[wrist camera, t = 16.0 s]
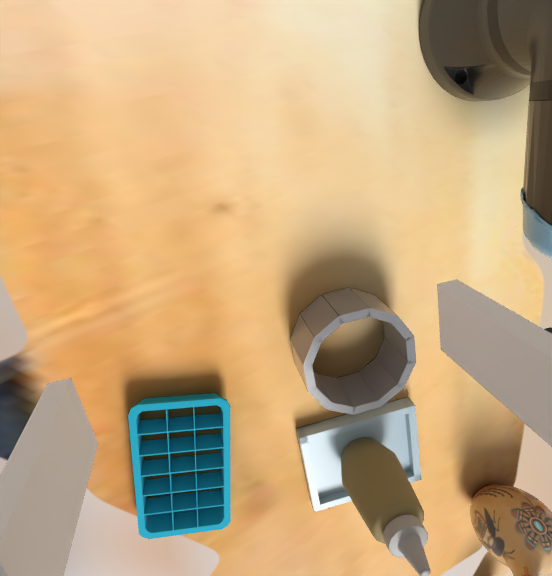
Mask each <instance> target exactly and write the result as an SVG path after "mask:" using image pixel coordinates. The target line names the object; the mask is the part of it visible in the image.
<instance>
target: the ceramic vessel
mask: <svg viewBox="0 0 552 576" xmlns="http://www.w3.org/2000/svg"><path fill="white" fill-rule="evenodd" d="M470 517H471V522H472V525H473V528H474V530H475V532H476V534H477V536H478V538H479V540H480V541H481V542H482V544H483V545H484V546H485V548H486V549H487V550H488V551H489V552H490V553H491V554H492V555H493V556H494V557H495V558H496V559H498V560H499V561H500V562H501V563H503V564H504V565H506V566H507V567H509V568H510V569H511V571H512V573H513V575H514V576H539V575H546V574H550V573H552V512H551V511H550V510H549V509H548V508H547V507H546V506H545V505H544V504H543V503H542V502H541V501H539V500H538V499H537V498H535V497H534V496H532V495H531V494H529V493H527V492H525V491H523V490H521V489H518V488H515V487H512V486H508V485H489V486H485V487H483V488H481V489H480V490H479V491H478V492H477V493H476V494H475V495H474V497H473V499H472V502H471V506H470Z"/></svg>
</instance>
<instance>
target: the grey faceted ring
mask: <svg viewBox="0 0 552 576" xmlns="http://www.w3.org/2000/svg"><path fill="white" fill-rule="evenodd" d="M366 317H371V318H374V319H378V320H382V321H383V328H384V337H385V338H384V340H383V342H382V344H381V347H380V349H379V351H378V353H377V356H376V358H375V359H373V360H372V361H371V362H370V363H369V364H367V365H366V366H365V367H364V368H363V369H361V370H360V371H359V372H357V373H354V374H350V375H346V376H343V377H339V378H334V377H330V376H325V375H320V374H316V373H315V372H314V371H313V366H312V364H313V362H314V360H315V357H316V355H317V352H318V350H319V347H320V345H321V342H322V341H323V340H324V339H325V338H326V337H328V336H329V335H330V334H331V333H332V332H333V331H335V330H336V329H337V328H338V327H339V326H340V325H341V324H343V323H347V322H351V321H354V320H358V319H362V318H366ZM290 342H291V347H292V352H293V357H294V362H295V365H296V367H297V369H298V371H299V373H300V376H301V378H302V380H303V382H304V384H305V386H306V388H307V391H308V392H309V393H310V394H311V395H312V396H313V397H314V398H315V399H316V400H317V401H318V402H319V403H320V404H321V405H322V406H323V407H324V408H325V409H327V410H331V411H337V412H342V413H347V414H352V415H354V414H358V413H361V412H365V411H368V410H372V409H375V408H379V407H382V406H383V405H384V404H385V403H386V402H388V401H389V400H390V399H391V398H392V397H394V396H395V395H396V394H397V393H398V392H400V391H401V390H402V389H403V387H405V385H406V383H407V380H408V378H409V376H410V374H411V372H412V370H413V368H414V366H415V364H416V354H415V340H414V335H413V334H412V333H411V331H410V330H409V329H408V328H407V326H406V325H405V324H404V323H403V322H402V320H401V319H400V318H399V317H398V316H397V315H396V314H395V313H394V312H393V311H392V310H391V309H389V308H388V307H387V306H386V305H385V304H384V303H383V302H382V301H381V300H379V299H378V298H377V297H376V296H375V295H373V294H370V293H366V292H363V291H359V290H356V289H352V288H346V289H342V290H338V291H334V292H330V293H326V294H322V295H320V296H319V297H318V298H317V299H316V300H315V301H314V302H312V303H311V304H310V305H309V306H308V307H307V308H306V309H304V310H303V311H302V312H301V313H300V314H299V317H298V319H297V322H296V325H295V327H294V330H293V332H292V335H291V338H290Z"/></svg>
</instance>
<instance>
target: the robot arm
mask: <svg viewBox="0 0 552 576" xmlns="http://www.w3.org/2000/svg"><path fill="white" fill-rule="evenodd" d="M419 31H420V44H421V49H422V54H423V57H424V60H425V63H426V65H427V67H428V69H429V71H430V73H431V75H432V76H433V78H434V79H435V80H436V82H437V83H438V84H439V85H440V86H441V87H442V88H443V89H444V90H446V91H447V92H449V93H450V94H452V95H454V96H456V97H458V98H461V99H464V100H469V101H486V100H496V99H501V98H504V97H507V96H510V95H513V94H515V93H517V92H519V91H521V90H522V89H524V88H526V87H527V86H529V85H530V96H529V105H528V121H527V137H526V153H525V168H524V184H523V188H522V189H521V195H520V196H521V201H522V204H523V230H524V234H525V236H526V238H528V240H529V241H530V243H531V245H532V246H533V247H534V248H535V249H537V250H538V251H539V252H541V253H542V254H544V255H546V256H548V257H549V258H551V259H552V0H424V1H423V4H422V9H421V15H420V27H419ZM437 289H438V308H439V327H440V346H441V350H442V351H443V352H444V353H445V354H446V355H448V356H449V357H450V358H451V359H452V360H453V361H454V362H456V363H457V364H458V365H459V366H460V367H461V368H462V369H464V370H465V371H466V372H467V373H468V374H469V375H470V376H472V377H473V378H474V379H475V380H476V381H477V382H478V383H479V384H481V385H482V386H483V387H484V388H485V389H486V390H487V391H489V392H490V393H491V394H492V395H493V396H494V397H495V398H497V399H498V400H499V401H500V402H501V403H502V404H503V405H505V406H506V407H507V408H508V409H509V410H510V411H511V412H513V413H514V414H515V415H516V416H517V417H518V418H519V419H521V420H522V421H523V422H524V423H525V424H526V425H527V426H528V427H530V428H531V429H532V430H533V431H534V432H535V433H537V434H538V435H539V436H540V437H541V438H542V439H543V440H545V441H546V442H547V443H548V444H549V445H550V446H551V447H552V328H546V329H543V328H541V327H539V326H537V325H536V324H534V323H532V322H530V321H529V320H527V319H525V318H523V317H522V316H520V315H518V314H516V313H515V312H513V311H511V310H509V309H508V308H506V307H504V306H502V305H501V304H499V303H497V302H495V301H494V300H492V299H490V298H488V297H487V296H485V295H483V294H481V293H480V292H478V291H476V290H474V289H473V288H471V287H469V286H467V285H466V284H464V283H462V282H460V281H459V280H457V279H456V280H452V281H448V282H444V283H440V284H437ZM97 445H98V442H97V439H96V437H95V434H94V432H93V429H92V427H91V425H90V422H89V420H88V417H87V415H86V413H85V410H84V408H83V405H82V403H81V401H80V398H79V396H78V393H77V391H76V388H75V386H74V384H73V381H72V379H71V378H68V379H64V380H60V381H56V382H52V383H48V384H47V386H46V387H45V389H44V391H43V393H42V395H41V397H40V399H39V401H38V403H37V405H36V407H35V409H34V411H33V413H32V415H31V417H30V419H29V420H28V422H27V424H26V426H25V428H24V430H23V432H22V434H21V436H20V438H19V440H18V442H17V444H16V446H15V448H14V450H13V452H12V453H11V455H10V457H9V459H8V461H7V463H6V465H5V467H4V469H3V471H2V473H1V475H0V576H63V575H64V571H65V568H66V564H67V560H68V556H69V552H70V549H71V545H72V540H73V537H74V533H75V529H76V525H77V522H78V518H79V514H80V510H81V506H82V503H83V499H84V495H85V491H86V487H87V484H88V480H89V476H90V472H91V468H92V465H93V461H94V457H95V453H96V449H97Z"/></svg>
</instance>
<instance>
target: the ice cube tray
mask: <svg viewBox="0 0 552 576" xmlns="http://www.w3.org/2000/svg"><path fill="white" fill-rule="evenodd" d="M213 405H217V406H219V407H220V410H221V413H218V414H207V415H195V416H184V417H172V418H169V415H168V409H177V408H189V407H193V414H194V407H201V406H213ZM165 409H166V418H161V419H150V420H140V413H141V412H142V411H153V410H165ZM128 420H129V430H130V441H131V452H132V463H133V474H134V484H135V495H136V506H137V517H138V526H139V527H138V528H139V534H140V535H141V536H142V537H144V538H148V539H152V538H159V537H167V536H174V535H181V534H189V533H196V532H204V531H211V530H219V529H223V528H224V527H226V526H228V524H229V523H230V405H229V403H228V401H227V400H226V399H224V398H222V397H220V396H219V395H218V394H216V393H207V394H194V395H181V396H169V397H156V398H144V399H143V400H142V401H141V402H140V403H138V404H136V405H135V406H133V407H131V409H130V412H129V414H128ZM213 428H221V433H218V434H208V435H198V436H195V430H202V429H213ZM192 430H194V436H187V437H177V438H170V432H181V431H192ZM159 433H167V438H166V439H156V440H146V441H142V435H149V434H159ZM220 448H221V453H212V454H203V455H196V451H200V450H210V449H220ZM190 451H195V455H193V456H183V457H174V458H171V453H180V452H190ZM161 454H168V456H169V458H164V459H154V460H145V461H144V458H143V456H151V455H161ZM219 468H221V471H219V472H210V473H201V474H192V475H183V476H174V477H172V474H173V473H182V472H191V471H195V472H196V471H201V470H210V469H219ZM164 474H170V477H165V478H156V479H147V480H145V477H146V476H155V475H164ZM220 487H221V489H219V490H211V491H203V492H197V490H203V489H212V488H220ZM195 490H196V492H194V493H186V494H177V495H173V493H178V492H186V491H195ZM169 493H171V495H169V496H161V497H152V498H147V496H152V495H161V494H169ZM209 507H213V508H209ZM201 508H205V509H201ZM193 509H197V510H193ZM185 510H190V511H185ZM177 511H182V512H177ZM169 512H172V513H169ZM161 513H166V514H161ZM153 514H158V515H153Z"/></svg>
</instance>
